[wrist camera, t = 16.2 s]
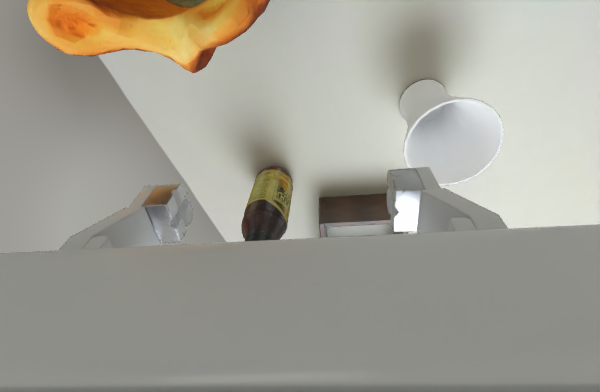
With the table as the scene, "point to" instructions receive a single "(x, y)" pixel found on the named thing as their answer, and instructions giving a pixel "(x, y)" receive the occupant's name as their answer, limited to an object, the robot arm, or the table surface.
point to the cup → (449, 132)
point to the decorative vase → (144, 26)
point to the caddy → (353, 211)
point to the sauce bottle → (268, 206)
